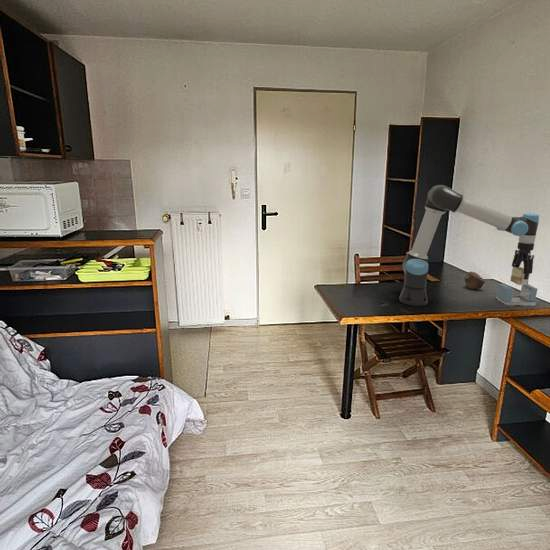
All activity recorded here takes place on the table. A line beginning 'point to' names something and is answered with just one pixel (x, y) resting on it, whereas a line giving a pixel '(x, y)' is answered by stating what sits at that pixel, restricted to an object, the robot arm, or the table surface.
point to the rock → (474, 281)
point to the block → (517, 275)
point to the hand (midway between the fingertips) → (519, 282)
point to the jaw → (505, 292)
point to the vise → (523, 297)
